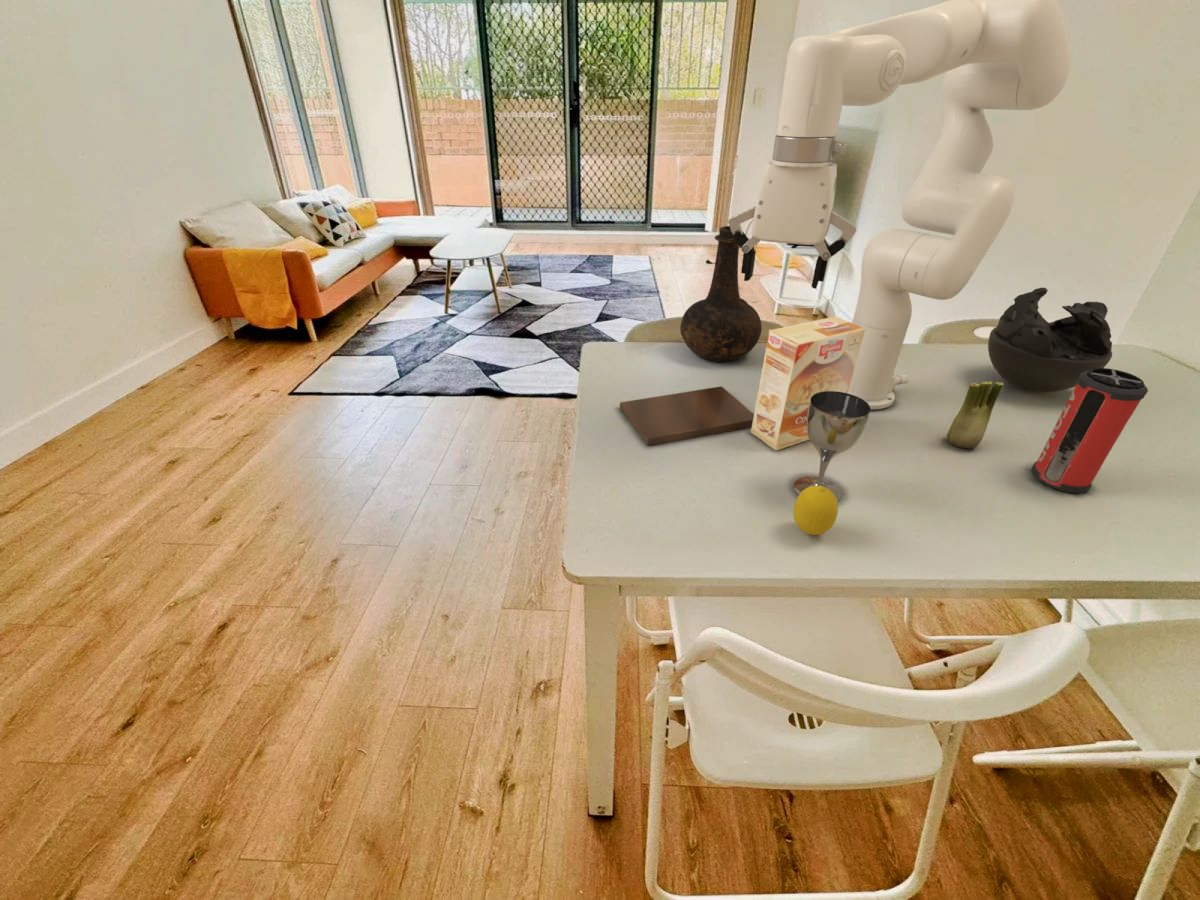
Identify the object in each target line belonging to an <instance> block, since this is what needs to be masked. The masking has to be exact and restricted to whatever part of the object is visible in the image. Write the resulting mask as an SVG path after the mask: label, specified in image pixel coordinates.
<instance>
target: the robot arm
mask: <svg viewBox="0 0 1200 900" xmlns="http://www.w3.org/2000/svg"><path fill="white" fill-rule="evenodd" d="M1071 64H1072V51H1071V45H1070V40H1069V37H1068V33H1067V28H1066V24H1065V19H1064V16H1063V11H1062V9H1061V7H1060V4H1059V2H1058V0H947V1H944V2H942V3H938V4H934V5H931V6H928V7H924V8H921V9H918V10H914V11H909V12H905V13H901V14H899V15H894V16H891V17H887V18H884V19H881V20H875V21H872V22H869V23H864V24H860V25H855V26H852V27H848V28H844V29H841V30H837V31H834V32H831V33H827V34H814V35H804V36H800V37H798V38H795V40H793V41H792V42H791V44H790V46H789V48H788V51H787V56H786V61H785V68H784V74H783V75H784V76H783V83H782V89H781V97H780V102H779V111H778V118H777V125H776V132H775V138H774V144H773V152H772V160H771V161H767V162H766V165H765V168H764V170H763V174H762V177H761V181H760V185H759V190H758V194H757V199H756V202H755V203H756V204H755V206H753V207H750V208H748V209H746V210H744V211H742V212H739V213H737V214H735V215H733V216H731V217H730V218H729V219H728V221H727V223H728V226H730V229H731V232H732V234H733V238H734V240H735V241H736V242H737V244H738V245H739V249H741V252H742V253H743V254H742V262H741V271H740V273H741V274H744V277H743V281H744V282H749V281H750V280H751V278H752V277H753V275H754V267H755V260H756V253H757V251H756V249H755V247H756V245H757V244H758V243H759V242H760V241H761V242H767V243H780V244H789V245H790V244H791V245H801V246H803V245H804V246H814V248H815V250H816V252H817V253H818V256H817V259H816V262H815V267H814V272H813V277H812V282H811V288H812V289H817V288H818V285H819V282H824V280H825V276H826V271H827V266H828V262H829V260H830V259H831V258H832V257H833V256H835V255H836V254H837V253H839V252H840V251H842V250H843V249H844V248H845V247H846V245H847V244H848V243H849V242H850V240H851V239H852V238H853V237H854V235H855V234H856V232H857V230H858V229H857V226H856V225H855V224H853V223H852V222H851V221H849V220H848V219H846V218H845V217H843V216H842V215H840V214H839V213H837V212H836V211H834V210H833V209H834V202H835V196H836V188H837V176H838V174H837V173H838V170H837V169H838V164H837V163H833V162H832V160H833V158H835V157H838V156H840V155H841V156H844V155H846V150H847V145H848V143H847V142H842V141H839V140H838V139H837V134H838V130H839V126H840V125H839V124H840V121H841V114H842V110H843V107H845V106H846V107H848V106H849V107H867V106H873V105H877V104H879V103H882V102H884V101H885V100H887V99H888V98H889V97H891V96H892V95H893V94H894V93H895V92H896V90H897V89H898V88H899V87H900V86H904V85H910V84H917V83H921V82H925V81H927V80H930V79H933V78H935V77H938V76H939V75H943V74H944V76H943V79H942V83H941V84H942V85H941V122H940V123H941V124H940V125H941V126H940V132H939V136H938V140H937V143H936V144H935V146H934V148H933V150H932V152H931V154H930V155H929V157H928V159H927V160H926V162H925V164H924V165H923V167H922V169H921V171H920V173H918V176H917V178H916V179H915V181H914V182H913V184H912V186H911V188H910V190H909V192H908V194H907V195H906V197H905V199H904V201H903V204H902V207H901V208H902V209H901V217H902V219H903V221H904V222H905V223H906V224H907V225H909V226H911V227H913V228H916V229H921V230H925V231H929V232H935V233H941V234H946V235H952V236H953V237H952V238H950V237H945V236H940V235H936V234H935V235H934V234H930V233H925V232H921V231H914V230H908V229H902V228H892V229H891V228H890V229H885V230H882V231H880V232H878V233H876V234H875V235H874V236H872V238H870V239H869V241H868V242H867V244H866V246H865V248H864V251H863V253H862V259H861V269H860V270H861V271H860V274H861V275H860V286H859V292H858V297H857V302H856V307H855V311H854V314H853V318H852V322H851V323H853V324H855V325H858V326H860V327H862V328H864V329H866V330H865V332H864V336H863V339H862V343H861V346H860V350H859V353H858V357H857V361H856V364H855V368H854V371H853V375H852V379H851V382H850V386H849V389H848V394H851V395H854V396H857V397H859V398H861V399H863V400H864V401H865V402H867V403H868V404H869V406H870V411H873V410H882V409H886V408H888V407H891V406H892V405H893V404H894V402H895V399H896V395H895V392H894V391H893V388H895V387H896V386H897V385H898V386H899V385H904V384H908V382H909V380H910V377H909V375H908V374H906V373H903V374H897V375H895V374H894V373H895V370H896V367H897V364H898V361H899V357H900V354H901V350H902V347H903V344H904V342H905V338H906V335H907V331H908V328H909V325H910V323H911V319H912V315H913V313H912V312H913V307H912V301H911V297H910V294H914V295H918V296H922V297H925V298H929V299H934V300H937V301H944V300H945V301H946V300H950V299H952V298H954V297H956V296H958V294H960V293H961V291H962V290H963V289H964V288H965V287H966V285H967V284H968V283H969V281H970V280H971V278H972V276H973V275H974V273H975V272H976V270H977V268H979V266H980V263H981V262H982V261H983V259H984V257H985V256H986V254H987V253H988V251H989V249H990V248H991V247H992V245H993V243H994V242H995V240H996V238H997V236H998V235H999V233H1000V232H1001V231H1002V229H1003V227H1004V225H1005V223H1006V221H1007V220H1008V218H1009V215H1010V213H1011V210H1012V208H1013V205H1014V199H1015V189H1014V186H1013V183H1012V181H1010V180H1009V178H1006V177H1005V176H1002V175H997V174H991V173H982V171H983V169H984V167H985V165H986V164H987V162H988V160H989V159H990V156H991V155H992V152H993V149H994V140H993V135H992V131H991V127H990V125H989V123H988V120H987V118H986V114H985V110H1001V111H1003V110H1005V111H1032V110H1033V111H1034V110H1037V109H1041V108H1043V107H1045V106H1047V105H1049V104H1050V103H1051V102H1053V101H1054V100H1055V99H1056V98H1057V97H1058V96H1059V94H1060V93H1061V92H1062V90H1063V88H1064V87H1065V85H1066V82H1067V80H1068V77H1069V74H1070V70H1071ZM751 219H753V220H752V227H751V236H750V237H748V236H747V235H746V234H745V233H744V231H743V229H742V226H741V224H743V223H745V222H747V221H749V220H751ZM830 225H832V226H833V227H835V228H837V229H838V230H840V231H841V232H842V233H841V235H840V236H839V238H837V239H836V240H835V241H833V242H832V243H831V244H829V242H828V241H827V239H826V237H827V236H828V232H829V230H830Z"/></svg>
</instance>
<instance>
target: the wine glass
mask: <svg viewBox="0 0 1200 900" xmlns="http://www.w3.org/2000/svg"><path fill="white" fill-rule="evenodd" d="M870 413H871V410H870V406H869V404H868V403H867V402H865V401H864V400H863V399H861V398H859V397H857V396H854V395H851V394H848V393H843V392H836V391H825V392H819V393H816V394H814V395H813V396H812V397H811V399H810V403H809V407H808V413H807V434H808V437H809V441H810V443H811V444H812V445H813V447H814V448H815V450H816V451H817V453H818V455H819V459H820V462H819V470H818V474H817V476H813V475H807V476H802V477H798V478H797V479H796V480H795V481H794V482H793V485H792V486H793V490H794V492H795V493H796V495H798V496H799V495H800V493H801V492H802V491H803V490H804V489H806V488H808V487H811V486H823V487H825V488H827V489H829V490H830V491H831V492H832V493H833V494H834V495H835V497H836V499H837V503H838V502H839V501H840V500H841V499H842V496H843V492H842V490H841V488H840V487H839V485H837V484H836V483H835V482H833V481H831V480H829V479H827V478H824V477H825V474H826V471H827V469H828V466H829V464H830V462H831V461H832V460H833V459H834V458H835V457H836V456H839V455H841V454H843V453H845V452H847V451H848V450H850V449H852V448H853V447H854V446H855V445H856V443H857V442H859V439H860V438H861V436H862V435H863V432H864V431H865V428H866V425H867V422H868V420H869V416H870Z"/></svg>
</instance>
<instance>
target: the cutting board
mask: <svg viewBox="0 0 1200 900" xmlns="http://www.w3.org/2000/svg"><path fill="white" fill-rule="evenodd" d="M619 410H620V412H621V413H622V414H623V416H624V417H625V418H626V420H627V421H628V423H630V425H631V426H632V428H633V429H634V430H635V431H636V433H637V434H638V435H639V436H640V438H641V439H642V441H643V442H644V443H645V444H646V446H647V447H649V446H654V445H655V446H656V445H661V444H665V443H671V442H676V441H683V440H688V439H692V438H698V437H703V436H704V437H705V436H710V435H715V434H720V433H727V432H729V431H730V432H732V431H736V430H742V429H747V428H752V423H753V418H754V413H753V412H752V411H751V410H750V409H748V408H747V407H746V406H745V405H744V404H743V403H742V402H740V401H739V399H737V398H736V397H735V396H734V395H732V394H731V393H730V392H729V391H728V390H726V388H724V387H723V386H722V385H721V386H714V387H708V388H702V389H696V390H690V391H689V390H688V391H684V392H677V393H671V394H665V395H659V396H653V397H647V398H639V399H634V400H626V401H620V402H619Z"/></svg>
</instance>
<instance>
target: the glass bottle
mask: <svg viewBox="0 0 1200 900" xmlns="http://www.w3.org/2000/svg"><path fill="white" fill-rule="evenodd" d="M718 230H719V233H718V234H717V235H715V236H714V240H716V241H717V242H718V243H717V249H716V250H717V251H716V256H715V263H714V267H713V274H712V279H711V283H710V287H709V291H708V293H707V296H706V297H705V299H701V300H698V301H696V302H695V303H693V304H691V305H690V306H689V307H688V308H687V309H686V311H685V312H684V313H683V316H682V318H681V321H680V326H679V327H680V328H679V330H680V335H681V337H682V339H683V341H684V344H685V345H686V346H687V348H688V349H689V350H690V351H691V352H692V353H693V354H695V355H696V356H698V357H699V358H702V359H706V360H709V361H714V362H715V361H716V362H727V361H735V360H737V359H740V358H743V357H744V356H746V355H747V354H749V353H750V352H751V351H752V350H753V349H754V348H755V347H756V345H757V344H758V342H759V340H760V337H761V336H762V335H761V334H762V330H763V327H762V321H761V317H760V314H759V313H758V311H757V310H756V309H755V308H754V307H753V306H752V305H750V304H748V301H746V300H745V299H743V298H742V297H741V295H740V291H739V290H740V289H739V255H740V254H739V253H740V246H739V245H738V244H737V242H736V241H735V240H734V238H733V234H732V232H731V229H730V226H729V225H724V226H721V227H720V228H719V229H718Z"/></svg>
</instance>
